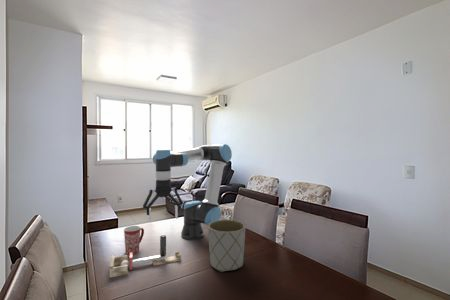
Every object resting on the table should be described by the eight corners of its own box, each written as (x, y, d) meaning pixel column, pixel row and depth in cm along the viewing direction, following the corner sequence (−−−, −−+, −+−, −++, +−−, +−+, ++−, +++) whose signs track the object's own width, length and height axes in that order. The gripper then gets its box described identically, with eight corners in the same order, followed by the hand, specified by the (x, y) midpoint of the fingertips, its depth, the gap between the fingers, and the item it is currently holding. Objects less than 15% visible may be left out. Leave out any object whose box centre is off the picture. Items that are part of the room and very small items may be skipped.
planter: (218, 278, 106) (218, 234, 106) (202, 260, 122) (202, 222, 122) (252, 268, 114) (252, 228, 114) (233, 252, 131) (233, 217, 131)
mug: (130, 256, 126) (131, 232, 126) (120, 253, 131) (120, 229, 131) (148, 248, 137) (148, 225, 137) (138, 245, 142) (138, 223, 142)
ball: (118, 262, 114) (123, 268, 115) (118, 266, 111) (123, 272, 111) (126, 257, 116) (130, 262, 116) (126, 260, 112) (131, 266, 113)
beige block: (127, 262, 119) (127, 253, 119) (127, 274, 108) (127, 263, 108) (111, 265, 116) (111, 255, 116) (109, 277, 105) (109, 266, 105)
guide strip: (178, 256, 126) (179, 251, 126) (180, 260, 122) (180, 254, 122) (152, 261, 121) (152, 255, 121) (153, 265, 117) (153, 259, 117)
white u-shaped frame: (165, 258, 124) (165, 234, 124) (166, 263, 118) (167, 238, 118) (129, 264, 117) (129, 238, 117) (129, 270, 112) (129, 243, 111)
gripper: (185, 177, 129) (185, 214, 129) (137, 179, 119) (137, 220, 119) (188, 178, 122) (188, 218, 122) (138, 181, 112) (138, 224, 112)
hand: (163, 219), depth 121 cm, fingers open, 13 cm apart
